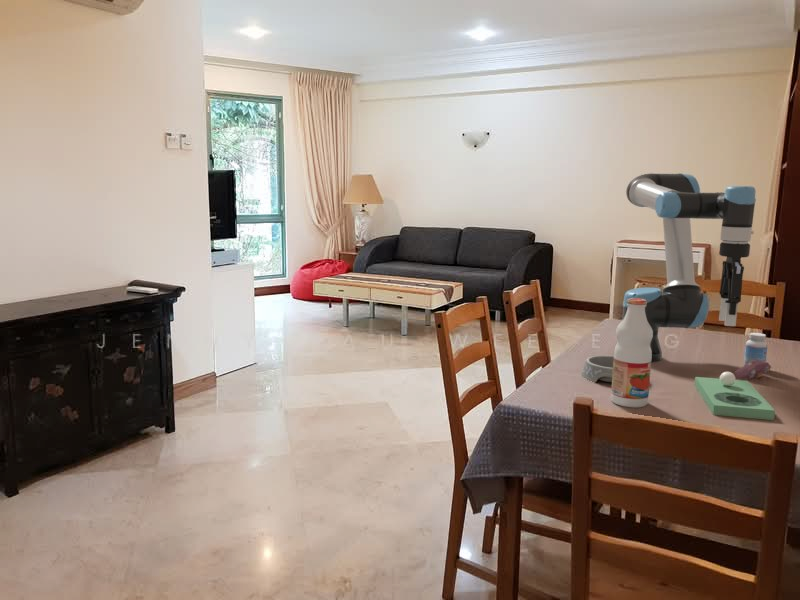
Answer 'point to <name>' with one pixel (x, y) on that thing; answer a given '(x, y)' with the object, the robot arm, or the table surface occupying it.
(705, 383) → the mat
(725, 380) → the ball
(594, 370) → the dog bowl
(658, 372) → the table surface
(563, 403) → the table surface
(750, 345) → the pill bottle
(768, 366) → the video game controller
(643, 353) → the fruit juice
